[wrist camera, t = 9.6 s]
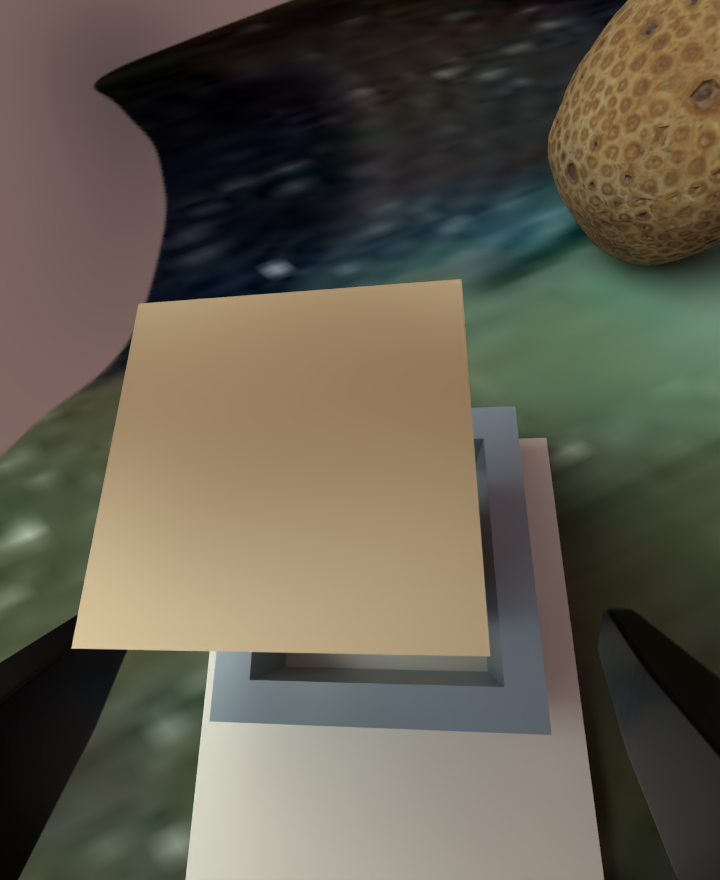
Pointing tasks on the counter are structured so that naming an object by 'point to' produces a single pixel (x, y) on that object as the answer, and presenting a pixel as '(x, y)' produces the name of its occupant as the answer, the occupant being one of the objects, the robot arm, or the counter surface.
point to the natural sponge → (645, 133)
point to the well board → (414, 729)
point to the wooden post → (293, 479)
